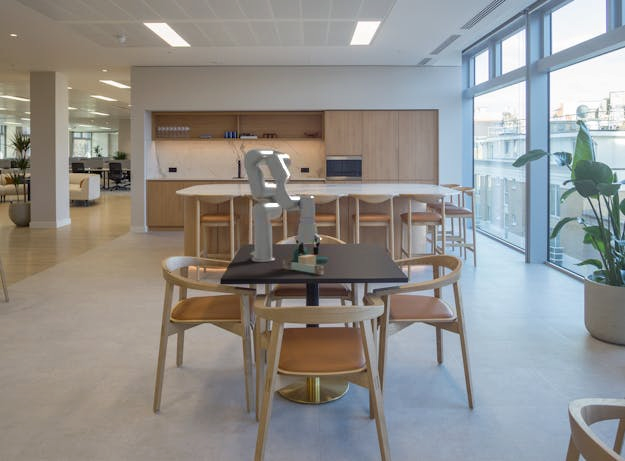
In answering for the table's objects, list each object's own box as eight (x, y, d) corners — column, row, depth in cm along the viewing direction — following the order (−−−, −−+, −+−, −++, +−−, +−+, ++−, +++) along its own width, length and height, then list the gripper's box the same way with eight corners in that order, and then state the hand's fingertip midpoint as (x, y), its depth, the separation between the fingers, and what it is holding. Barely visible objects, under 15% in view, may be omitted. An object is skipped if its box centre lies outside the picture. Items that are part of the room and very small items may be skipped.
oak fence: (282, 268, 293) (282, 260, 292) (285, 268, 294) (285, 259, 294) (321, 275, 277) (321, 266, 276) (324, 274, 279) (324, 265, 278)
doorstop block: (298, 268, 295) (298, 256, 295) (308, 265, 302) (308, 254, 301) (305, 269, 292) (305, 257, 291) (315, 267, 298) (316, 255, 298)
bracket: (293, 262, 311) (293, 248, 310) (295, 260, 318) (295, 246, 317) (327, 263, 309) (327, 248, 308) (328, 261, 315) (328, 247, 314)
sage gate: (291, 269, 290) (291, 262, 289) (293, 268, 291) (293, 261, 291) (314, 273, 280) (314, 266, 280) (317, 272, 282) (317, 265, 281)
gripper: (290, 220, 296) (290, 253, 298) (316, 221, 285) (317, 256, 287) (299, 219, 302) (300, 252, 304) (325, 220, 291) (326, 254, 293)
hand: (308, 254), depth 295 cm, fingers open, 9 cm apart
